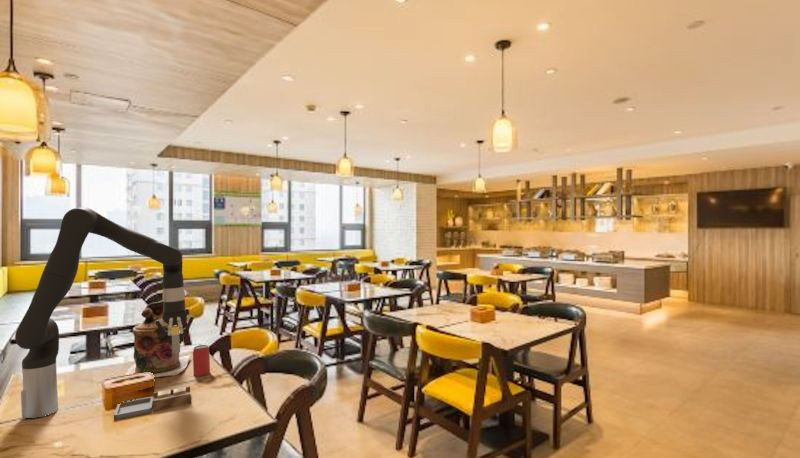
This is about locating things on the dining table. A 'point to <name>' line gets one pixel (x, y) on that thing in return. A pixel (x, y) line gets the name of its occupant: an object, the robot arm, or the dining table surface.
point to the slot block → (171, 400)
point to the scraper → (175, 339)
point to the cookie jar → (155, 346)
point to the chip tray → (134, 408)
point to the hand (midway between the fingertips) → (176, 343)
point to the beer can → (201, 360)
